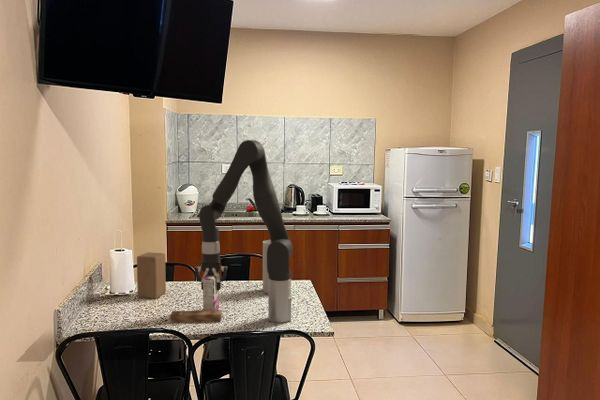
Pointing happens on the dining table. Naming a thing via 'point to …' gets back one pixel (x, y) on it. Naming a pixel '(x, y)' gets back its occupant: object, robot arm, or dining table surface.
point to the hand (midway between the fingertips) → (211, 290)
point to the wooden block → (151, 275)
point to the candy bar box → (210, 293)
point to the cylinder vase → (265, 267)
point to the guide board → (196, 316)
